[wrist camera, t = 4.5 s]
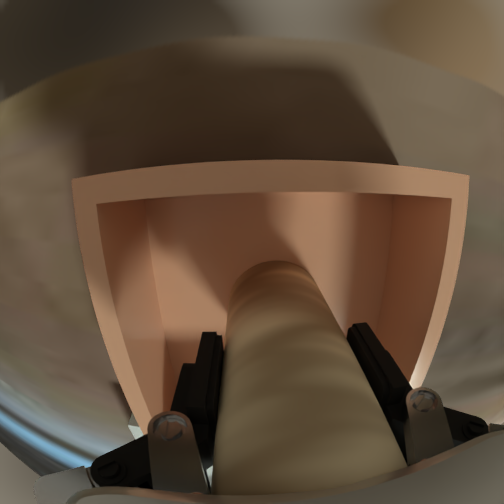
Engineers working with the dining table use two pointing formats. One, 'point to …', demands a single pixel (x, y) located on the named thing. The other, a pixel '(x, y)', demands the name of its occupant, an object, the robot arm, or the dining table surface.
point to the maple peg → (293, 394)
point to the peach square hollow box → (264, 255)
